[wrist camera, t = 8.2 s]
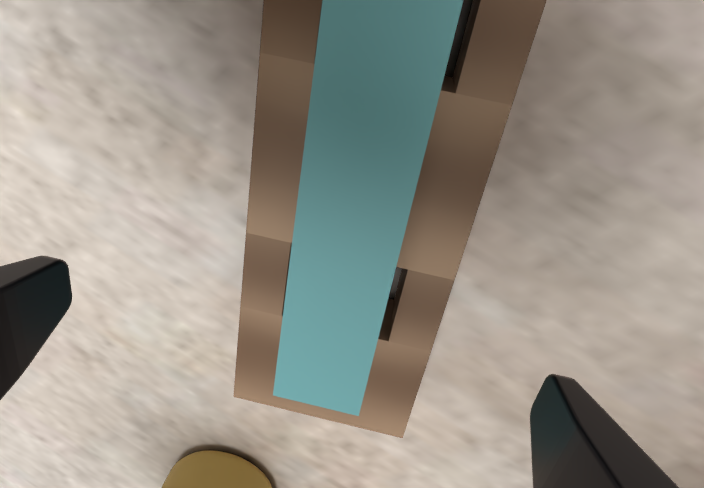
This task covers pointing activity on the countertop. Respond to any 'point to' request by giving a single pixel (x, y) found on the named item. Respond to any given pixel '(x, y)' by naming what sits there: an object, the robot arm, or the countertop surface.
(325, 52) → the teal drawer handle
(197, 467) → the paper tube
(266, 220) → the brown slotted board
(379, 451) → the countertop surface
